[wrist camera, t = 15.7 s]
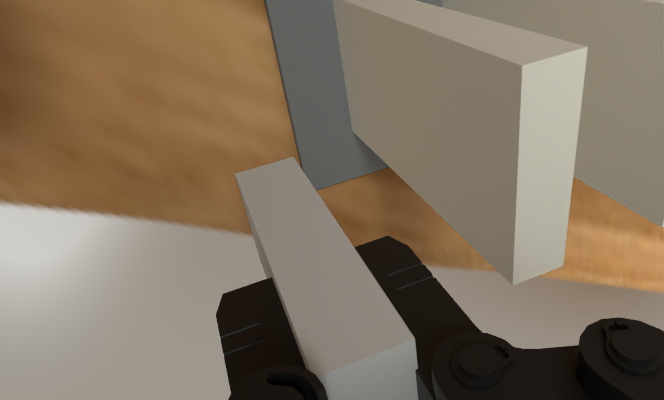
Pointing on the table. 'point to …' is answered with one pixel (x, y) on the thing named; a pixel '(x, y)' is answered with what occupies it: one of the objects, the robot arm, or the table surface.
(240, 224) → the table surface
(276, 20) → the mat
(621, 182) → the domino
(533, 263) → the domino
